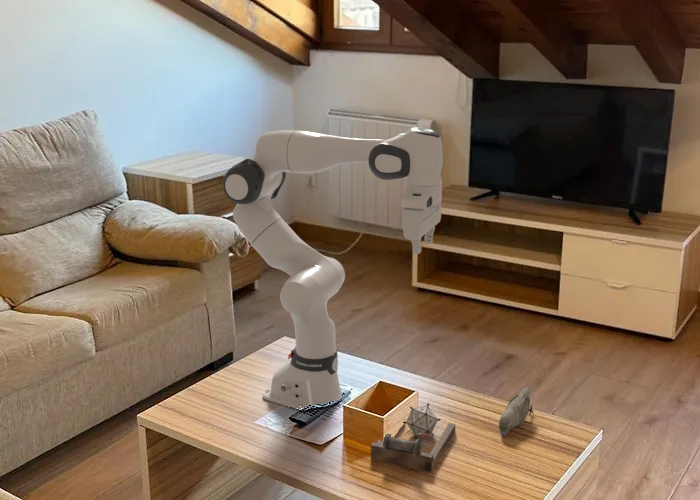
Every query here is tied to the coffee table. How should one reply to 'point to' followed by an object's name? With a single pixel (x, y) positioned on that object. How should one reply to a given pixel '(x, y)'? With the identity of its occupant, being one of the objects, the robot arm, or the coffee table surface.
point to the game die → (421, 420)
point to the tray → (411, 450)
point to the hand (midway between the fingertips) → (422, 248)
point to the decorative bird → (515, 412)
